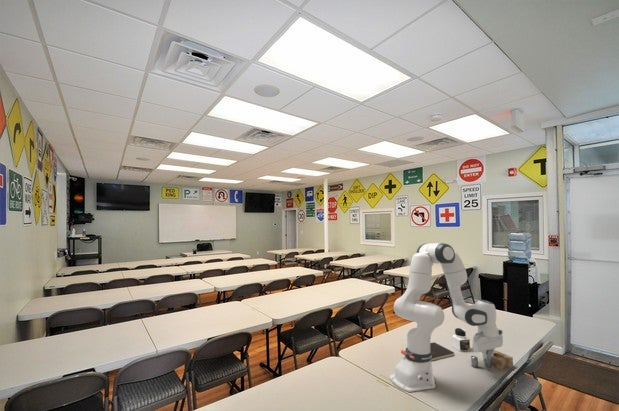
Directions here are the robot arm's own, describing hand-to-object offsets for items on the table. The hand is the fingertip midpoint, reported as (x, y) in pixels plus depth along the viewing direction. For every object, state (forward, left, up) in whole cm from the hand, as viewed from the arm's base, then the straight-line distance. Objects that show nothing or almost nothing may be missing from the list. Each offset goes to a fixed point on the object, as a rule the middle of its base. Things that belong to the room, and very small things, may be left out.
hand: (488, 357), depth 148 cm
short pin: (-3, +5, -7) cm, 9 cm away
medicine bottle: (+10, +23, -7) cm, 26 cm away
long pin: (0, 0, -5) cm, 5 cm away
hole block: (+11, +1, -7) cm, 13 cm away
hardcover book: (-13, +27, -8) cm, 31 cm away
